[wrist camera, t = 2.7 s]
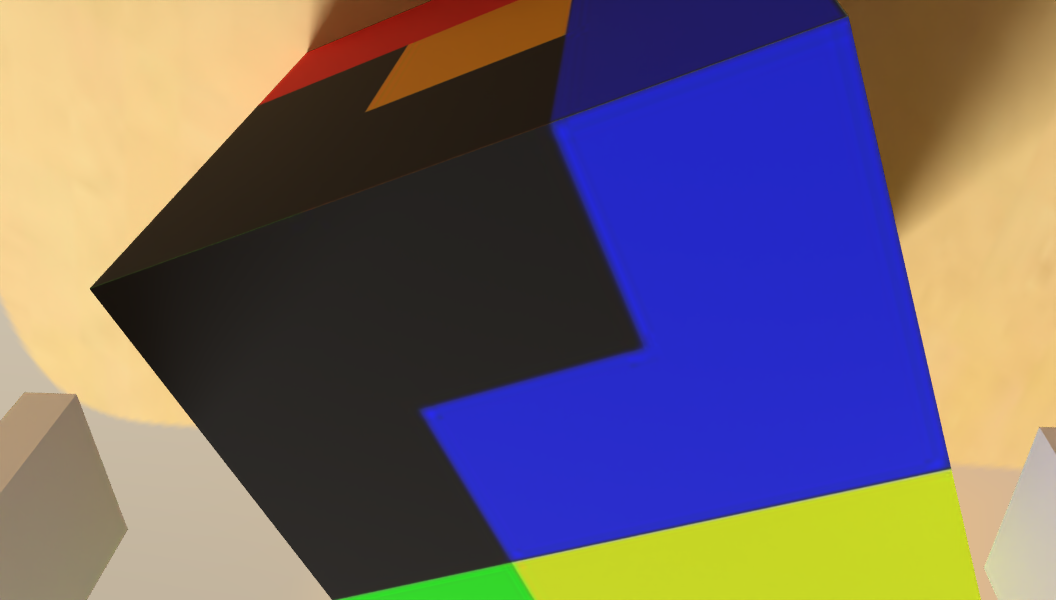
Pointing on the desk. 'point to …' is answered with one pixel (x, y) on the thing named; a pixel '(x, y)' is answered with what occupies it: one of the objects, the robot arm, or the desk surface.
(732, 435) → the puzzle toy
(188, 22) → the desk surface
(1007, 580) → the robot arm
